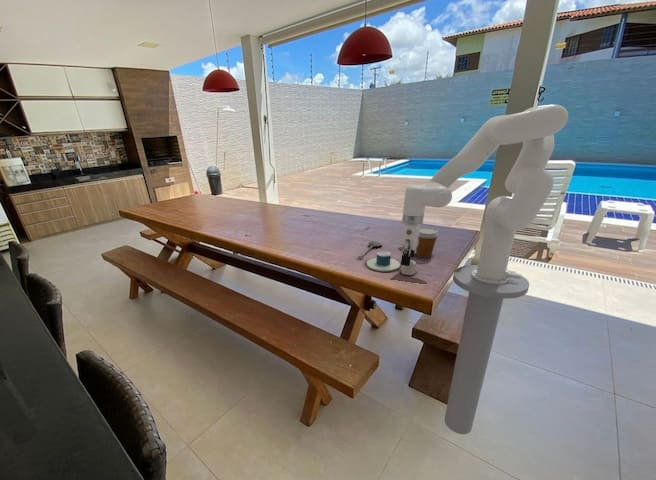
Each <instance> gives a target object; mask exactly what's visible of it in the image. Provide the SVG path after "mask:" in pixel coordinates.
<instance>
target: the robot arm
mask: <svg viewBox="0 0 656 480" xmlns="http://www.w3.org/2000/svg"><path fill="white" fill-rule="evenodd" d="M568 120H569V112H568V110H567V108H565V107H564V106H563V105H560V104H547V105H537V106H533V107H529V108H527V109H525V110H524V111H522V112H517V113H511V114H503V115H495V116H493V117H490V118H489V119H488V120H486V121H485V122H484V123H483V125H482V126H481V127H480V128H479V129H478V130H477V131H476V133H475V134H474V135H473V136H472V137H471V138H470V139H469V140H468V141H467V143H466V144H465V145H464V147H462V148H461V150H459V152H458V153H457V154H456V155H454V156H453V157H452V158H451V159H450V160H449V161H448V162H447V163H445V164H444V165H443V166H442V167H441V168H439V170H438V171H436V173H435V174H434V175H433V176H432V177H431V178H430V179H429V181H428V182H427V183H426V184H425V185H422V184H410V185H408V186H406V188H405V190H404V200H403V210H402V217H401V223H402V224H403V225H404V226H403V233H402V242H401V249H402V253H401V260H400V266H402V265H405V266H409V265H410V260H411V258H414V257H415V254H416V248H417V246H418V243H419V234H420V228H421V225H423V224H424V219H425V212H426V207H430V208H431V207H432V208H444V207H446V206H448V205H449V204H450V203H451V201H452V200H453V193H452V191H451V190H450V187H451V186H452V185H453V184H454V183H455V182H456V181H458V180H459V179H461V178H462V177H464V176H466V175H469V174H471V173H473V172H476V171H477V170H479V169H480V168H481V167H482V166H483V164H484V163H485V162H486V161H487V160H488V159H489V158H490V157H491V156H492V154H493V153H494V152H495V151H496V150H497V149H498V148H499V147H500V146H501V145H502V146H503V145H505V146H507V145H514V144H519V143H522V146H521V150H520V152H519V154H518V156H517V159H516V160H515V162H514V163H513V166H512V167H511V170H510V172H509V173H508V175H507V177H506V179H505V182H504V186H505V187H504V188H505V189H506V190H507V191H508V192H509V193H511V194H513V196H506V195H502V196H501V195H500V196H498V197H495V198H494V199H492V200H491V201H490V202H489V203H488V205H487V207H486V209H485V225H484V233H483V237H482V242H481V246H480V247H481V248H480V253H479V257H478V262H477V263H478V264H477V265H478V267H477V270H474V271H473V272H472V277H473V278H474V279H475V280H477V281H480V282H483V283H486V284H493V285H501V284H506V283H508V282H509V278H510V277H511V278H516V279H520V276H522V274H521V273H518V272H517V271H514V270H510V269H508V265H509V261H510V256H511V252H512V248H513V244H514V240H515V236H516V231H521V230H524V229H526V228H527V227H529V226H530V225H531V224H532V223H533V221H534V220H535V219H536V217H537V215H538V214H539V213H540V211H541V209H542V208H543V206H544V204H545V203H546V201H547V200H548V197H550V194H551V192H552V190H553V187H554V181H555V180H554V176H553V175H552V173H551V172H550V171H549V170H547V169H545V168H546V166H547V164H548V162H549V160H550V158H551V156H552V154H553V152H554V149H555V136H554V135H555V134H557V133H559V132H560V131H561V130H562V129H563V128H565V126H566V124H567V123H568ZM509 270H510V271H509ZM517 273H518V274H517Z"/></svg>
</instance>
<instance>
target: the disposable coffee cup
mask: <svg viewBox="0 0 656 480" xmlns="http://www.w3.org/2000/svg"><path fill="white" fill-rule="evenodd" d="M438 236H439V231H438V229H436V228H433V227H427V226H426V227H425V226H424V227H423V226H422V227H420V234H419V243H418V246H417V248H416V250H415V255H416V256H417V257H419V258H423V259H425V258H427V259H428V258H431V257H432V255H433V254H432V253H433V251H434V248H435V245H436V241H437V238H438Z"/></svg>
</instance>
